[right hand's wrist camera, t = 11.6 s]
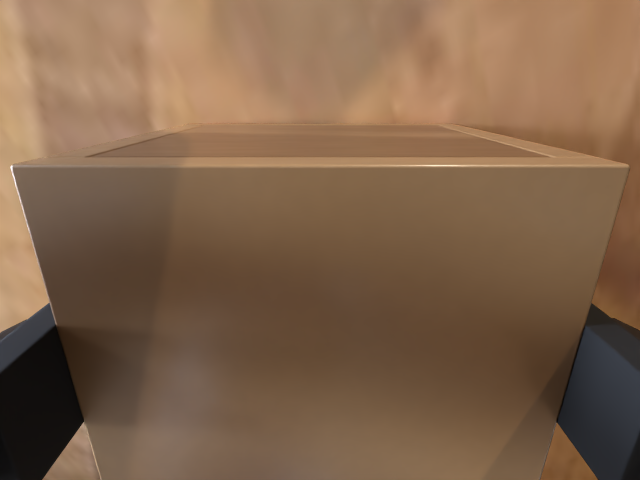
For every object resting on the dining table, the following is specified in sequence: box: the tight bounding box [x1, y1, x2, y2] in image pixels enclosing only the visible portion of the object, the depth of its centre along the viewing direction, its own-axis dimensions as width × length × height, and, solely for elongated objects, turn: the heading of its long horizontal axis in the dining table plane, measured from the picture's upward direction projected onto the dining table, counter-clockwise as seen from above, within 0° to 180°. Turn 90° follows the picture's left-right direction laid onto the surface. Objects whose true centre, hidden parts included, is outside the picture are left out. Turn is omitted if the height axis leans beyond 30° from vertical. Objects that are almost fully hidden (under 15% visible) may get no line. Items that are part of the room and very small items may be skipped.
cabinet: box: [11, 124, 630, 480], centre depth 15 cm, size 21×11×10 cm, turn 0°
